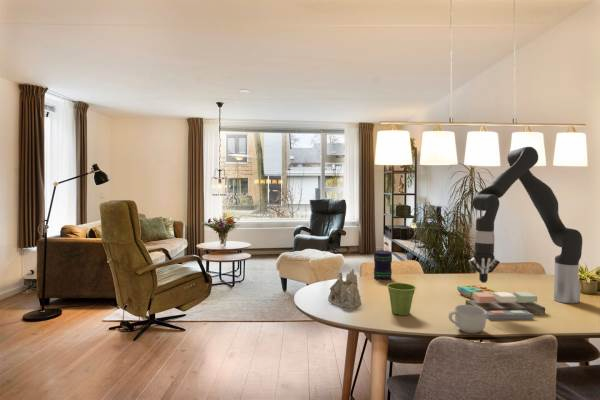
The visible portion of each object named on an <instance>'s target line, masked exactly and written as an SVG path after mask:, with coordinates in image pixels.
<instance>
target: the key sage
mask: <svg viewBox="0 0 600 400" xmlns="http://www.w3.org/2000/svg"><path fill="white" fill-rule="evenodd" d="M512 295H514V296H516V300H519V301H521V302H534V303H537V302H538V295H536V294H533V293H532V292H529V291H513V293H512Z"/></svg>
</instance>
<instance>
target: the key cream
mask: <svg viewBox="0 0 600 400" xmlns="http://www.w3.org/2000/svg"><path fill="white" fill-rule="evenodd" d="M493 296H495V299H496V300H498V301H499V302H516V300H517V299H516V296H514V295H513V293H510V292H508V291H507V292H505V291H504V292H503V291H502V292H501V291H500V292H499V291H496V292H493Z"/></svg>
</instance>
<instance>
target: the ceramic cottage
mask: <svg viewBox="0 0 600 400" xmlns="http://www.w3.org/2000/svg"><path fill="white" fill-rule="evenodd" d="M358 286H359V284H358V275H357V274H355V269H354V268H351V270H350V271H349V273H346V277H345V280H343V272H342V271H339V272H338V278H337V280H336V281H335V282H334V283H333V284H332V285H331V286H330V287H329V290H330V292H329V295H328V297H327V301H328V302H330V303H332V304H333V305H335V306H336V307H338V308H348V309H353V308H357V307H358V306H360V305H361V304H362V299H361V295H360V290H359V288H358Z"/></svg>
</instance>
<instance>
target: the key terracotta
mask: <svg viewBox="0 0 600 400" xmlns="http://www.w3.org/2000/svg"><path fill="white" fill-rule="evenodd" d="M472 298H473V299H475V300H476V301H478V302H495V296H493V295H491V294H489V293H488V292H477V293H473V294H472ZM473 299H472V300H473Z"/></svg>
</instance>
